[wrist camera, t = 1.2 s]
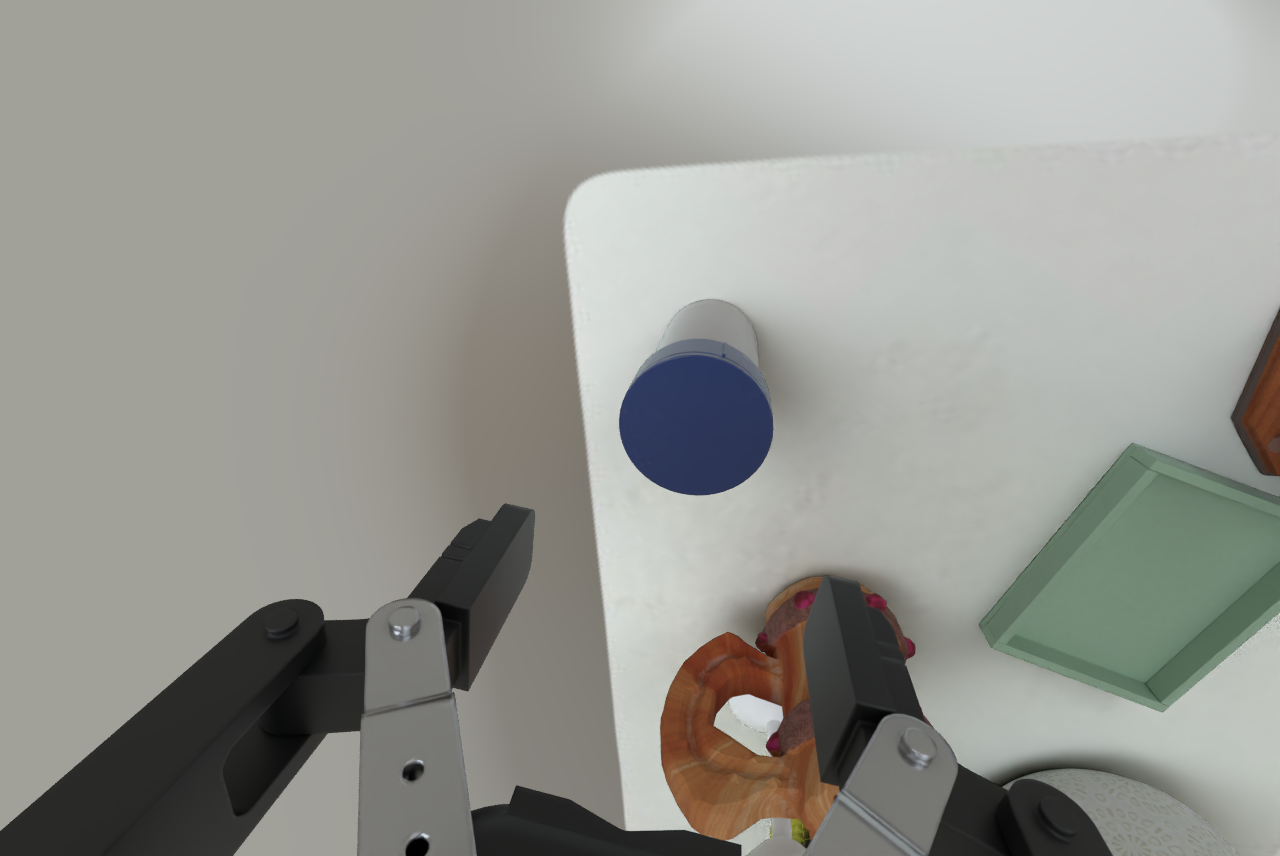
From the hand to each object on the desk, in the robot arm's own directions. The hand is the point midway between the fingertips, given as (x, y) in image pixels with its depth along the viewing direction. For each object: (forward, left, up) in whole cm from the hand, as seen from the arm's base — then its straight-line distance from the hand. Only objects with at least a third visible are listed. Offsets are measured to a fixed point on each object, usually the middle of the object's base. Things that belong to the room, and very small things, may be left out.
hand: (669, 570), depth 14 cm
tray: (+4, +29, -20) cm, 35 cm away
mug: (+15, +12, -20) cm, 28 cm away
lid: (0, 0, -9) cm, 9 cm away
